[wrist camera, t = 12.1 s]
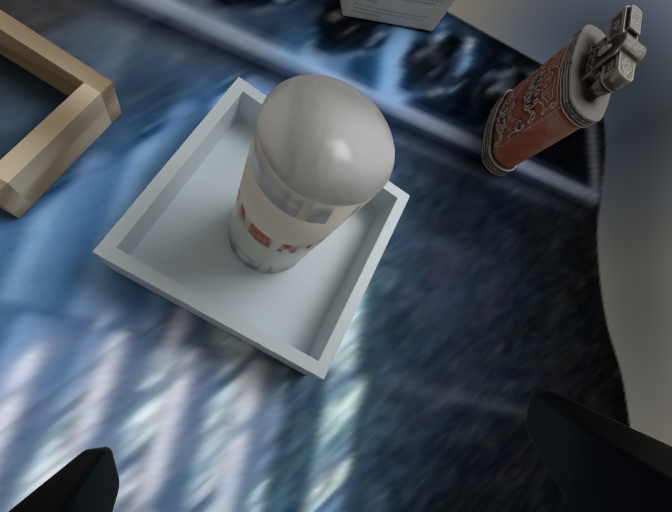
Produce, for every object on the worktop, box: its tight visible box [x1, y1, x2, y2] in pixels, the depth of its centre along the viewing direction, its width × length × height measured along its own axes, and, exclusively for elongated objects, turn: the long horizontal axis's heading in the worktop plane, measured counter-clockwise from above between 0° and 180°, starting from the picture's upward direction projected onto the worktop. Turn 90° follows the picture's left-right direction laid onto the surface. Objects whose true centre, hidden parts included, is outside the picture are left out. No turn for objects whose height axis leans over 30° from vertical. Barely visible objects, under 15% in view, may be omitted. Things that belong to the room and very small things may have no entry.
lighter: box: [482, 5, 646, 176], centre depth 25 cm, size 8×3×10 cm, turn 157°
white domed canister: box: [228, 75, 395, 273], centre depth 16 cm, size 4×4×10 cm
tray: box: [93, 77, 410, 379], centre depth 19 cm, size 11×11×3 cm
